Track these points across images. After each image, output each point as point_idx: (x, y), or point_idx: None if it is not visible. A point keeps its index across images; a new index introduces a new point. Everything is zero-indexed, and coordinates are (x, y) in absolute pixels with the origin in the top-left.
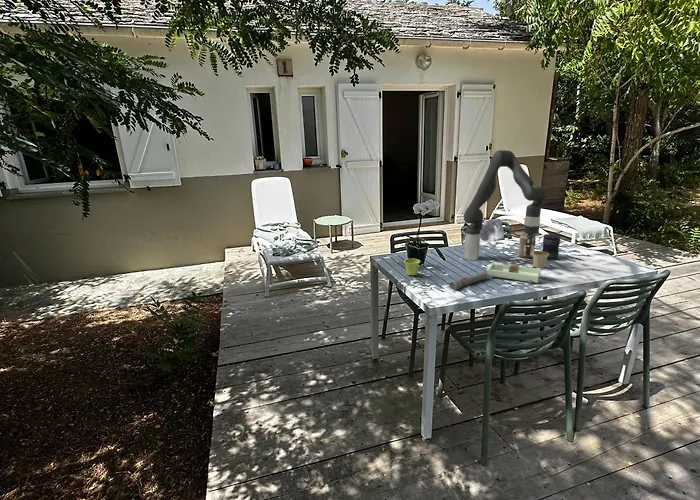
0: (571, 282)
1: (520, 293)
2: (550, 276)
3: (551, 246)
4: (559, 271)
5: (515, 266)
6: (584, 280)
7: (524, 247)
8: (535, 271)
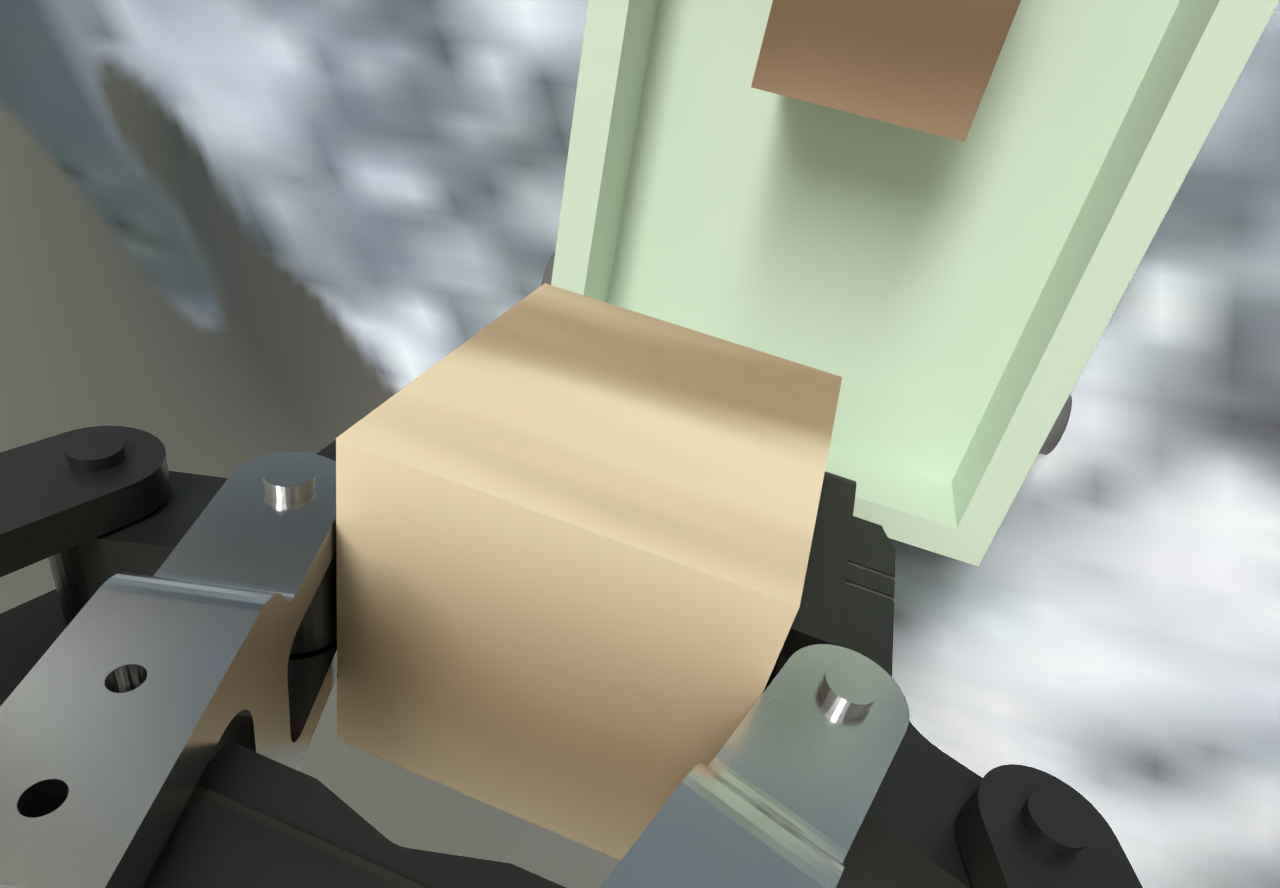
0: None
1: (160, 84)
2: (990, 622)
3: None
4: (1265, 802)
5: (816, 25)
6: None
7: (354, 427)
8: (974, 456)
